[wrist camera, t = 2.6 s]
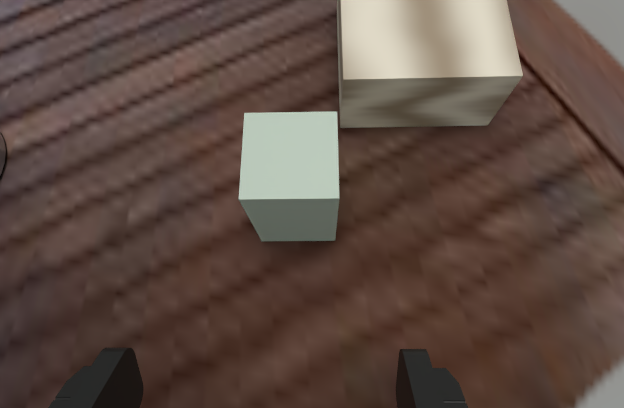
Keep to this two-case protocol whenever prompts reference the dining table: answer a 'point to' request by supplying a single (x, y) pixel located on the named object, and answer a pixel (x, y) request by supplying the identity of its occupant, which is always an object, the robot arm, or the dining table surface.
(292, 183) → the sage block
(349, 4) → the birch block
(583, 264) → the dining table surface
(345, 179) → the dining table surface
